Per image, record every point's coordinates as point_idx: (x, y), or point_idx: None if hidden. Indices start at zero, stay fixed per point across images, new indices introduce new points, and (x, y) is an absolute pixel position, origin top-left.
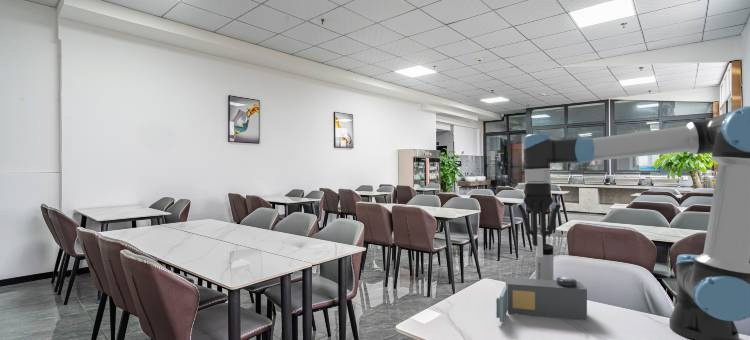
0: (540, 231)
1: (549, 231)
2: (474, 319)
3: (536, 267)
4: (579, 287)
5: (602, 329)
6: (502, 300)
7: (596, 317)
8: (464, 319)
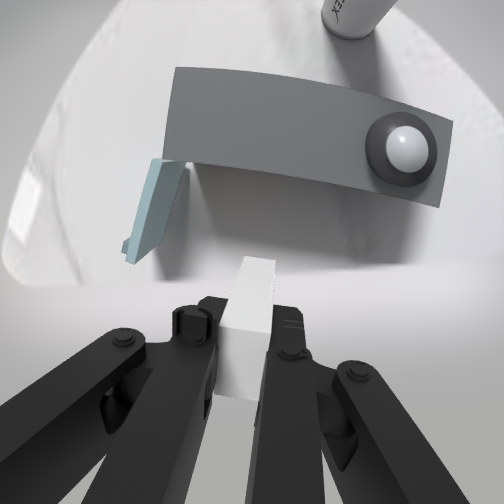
0: (266, 366)
1: (328, 439)
2: (103, 211)
3: None
4: (427, 185)
5: (406, 244)
6: (138, 259)
7: None
8: (83, 214)
